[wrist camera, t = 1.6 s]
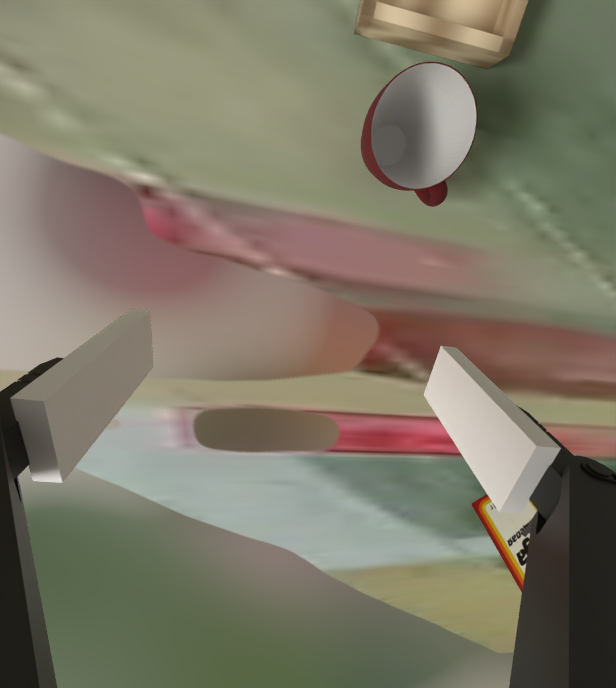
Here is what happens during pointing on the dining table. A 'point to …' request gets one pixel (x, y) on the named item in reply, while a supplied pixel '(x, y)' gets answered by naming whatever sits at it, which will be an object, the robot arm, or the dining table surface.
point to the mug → (420, 130)
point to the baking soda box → (507, 534)
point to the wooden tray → (445, 27)
